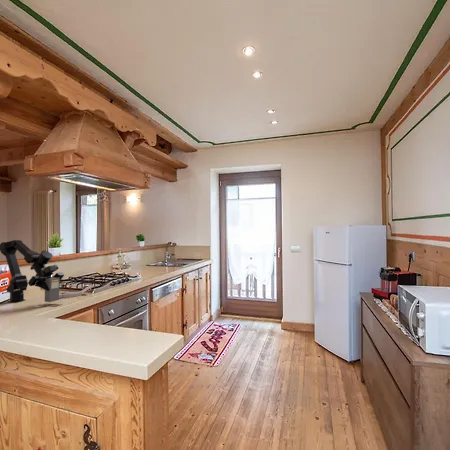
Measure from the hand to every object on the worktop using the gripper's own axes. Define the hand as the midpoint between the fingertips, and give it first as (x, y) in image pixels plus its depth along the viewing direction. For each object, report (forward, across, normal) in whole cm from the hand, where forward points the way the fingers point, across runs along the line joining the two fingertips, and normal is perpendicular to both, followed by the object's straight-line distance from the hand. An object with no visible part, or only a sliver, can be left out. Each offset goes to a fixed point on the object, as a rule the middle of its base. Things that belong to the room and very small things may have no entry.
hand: (53, 289), depth 157 cm
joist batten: (+6, -1, +7) cm, 9 cm away
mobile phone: (-1, +22, +14) cm, 26 cm away
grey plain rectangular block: (+4, 0, +6) cm, 7 cm away
